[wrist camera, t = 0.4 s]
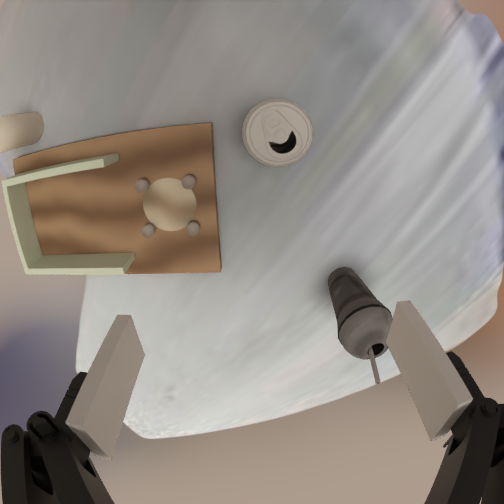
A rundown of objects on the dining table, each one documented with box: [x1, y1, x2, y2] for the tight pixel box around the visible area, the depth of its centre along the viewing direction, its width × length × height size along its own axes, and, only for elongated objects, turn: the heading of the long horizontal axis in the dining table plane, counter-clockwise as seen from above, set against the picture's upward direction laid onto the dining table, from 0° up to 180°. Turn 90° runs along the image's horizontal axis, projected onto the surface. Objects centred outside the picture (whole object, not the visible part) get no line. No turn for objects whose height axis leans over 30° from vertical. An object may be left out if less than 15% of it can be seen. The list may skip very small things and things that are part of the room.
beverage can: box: [242, 98, 313, 167], centre depth 29 cm, size 6×6×12 cm
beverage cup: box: [328, 267, 393, 384], centre depth 35 cm, size 7×7×20 cm
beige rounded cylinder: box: [0, 112, 44, 153], centre depth 27 cm, size 5×5×12 cm
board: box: [13, 123, 222, 274], centre depth 37 cm, size 20×32×3 cm, turn 92°
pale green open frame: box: [2, 153, 135, 275], centre depth 35 cm, size 15×19×4 cm
